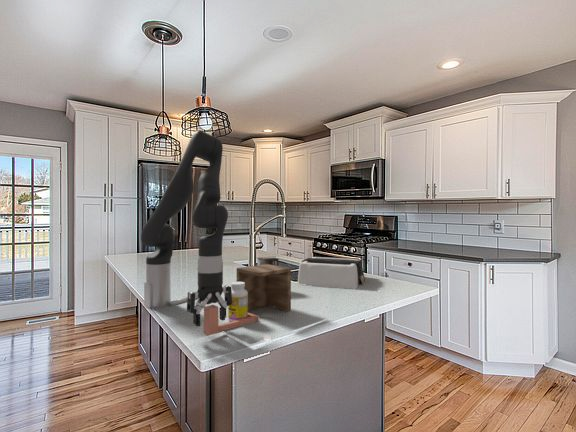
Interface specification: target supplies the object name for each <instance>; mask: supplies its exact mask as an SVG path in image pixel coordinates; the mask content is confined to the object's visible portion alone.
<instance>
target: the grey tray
mask: <svg viewBox="0 0 576 432" xmlns="http://www.w3.org/2000/svg"><path fill="white" fill-rule="evenodd" d="M365 280H366V279H365V273H364V269H363V264H362V262H361V258H344V257H343V258H341V257H324V256H323V257H321V256H312V257H306V258H305V259H303V260H301V262H299V267H298V275H297V283H298V284H306V285H305V286H309V285H315V286H314V287H322V286H323V287H324V288H325V287H326V288H339V289H352V290H356V289H357V288H358V287H359V284H360V282H361V285H364V282H365Z"/></svg>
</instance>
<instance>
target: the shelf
mask: <svg viewBox="0 0 576 432" xmlns="http://www.w3.org/2000/svg"><path fill="white" fill-rule="evenodd" d="M236 282H244V283H245V287H244V289H245V290H246V291H247V292H248V311H249V310H253V309H257V308H261V307H264V306H267V307H268V306H269V307H271V308H274V309H277V310H281V311H284V312H286V313H287V312H291V311H292V308H291V307H292V305H291V304H292V295H291V294H292V293H291V292H292V269H291V267H287V266H286V267H285V266H280V265H279V266H275V265H270V264H264V265H258V264H257V265H251V266H242V267H241V266H240V267H236Z"/></svg>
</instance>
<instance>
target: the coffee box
mask: <svg viewBox="0 0 576 432" xmlns="http://www.w3.org/2000/svg"><path fill="white" fill-rule="evenodd" d="M264 264H270V265H275V266H280V264H279V258H278V257H275V256H274V257H273V256H272V257H257V265H264Z"/></svg>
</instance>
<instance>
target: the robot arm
mask: <svg viewBox="0 0 576 432" xmlns="http://www.w3.org/2000/svg"><path fill="white" fill-rule="evenodd" d="M222 157H223V142H222V141H221V140H220V139H219V138H217V137H215V136H213V135H211V134H209V133H207V132H204V131H203V130H196V131H195V132H194V133H193V134H192V136H191V138H190V139H189V142H188V144H187V147H186V149H185V150H184V153H183V155H182V157H181V160H180V162H179V164H178V166H177V169H176V171H175V172H174V175H173V176H172V178H171V180H170V181H169V183H168V185H167V186H166V189H165V191H164V193H163V195H162V197H161V199H160V200H159V203H158V205H157V206H156V208H155V210H154V211H153V213H152V214H151V216H150V217H149V218H148V220H147V222H146V223H145V225H144V227H142V230H141V235H140V240H141V243H142V245H144V246H146V247H148V248H155V250H154V251H153V252H152V253H151V254H149V255H148V256H146V260H145V280H146V281H145V282H144V286H143V287H144V289H143V294H144V295H143V300H144V301H143V303H144V304H143V305H144V306H145V307H147V308H149V309H153V308H154V309H157V308H164V307H167V306H168V307H169V306H171V305H170V302H171V300H172V299H171V297H172V295H171V283H172V282H171V277H172V276H171V274H172V273H171V270H172V269H171V266H172V265H171V261H172V257H173V251H174V249H173V248H174V232H173V228H172V226H171V225H170V224H169V223H168V222H169V220H171V219H172V218H173V217H174V216H175V215H177V214H178V213H180V212H181V211H182V210H183V209H184V208H185V207H186V206H187V205H188V203H189V201H190V199H191V197H192V196H193V194H194V191H195V184H194V178H193V168H192V167H193V162H194V161H195V159H196V158H199V159H200V160H203V161H206V162H208V163H209V166H208V167H207V169H205V170H204V171H203V173H201V174H200V176H199V178H198V180H197V199H196V204H195V206H194V208H193V211H192V216H191V217H192V218H191V219H192V223H193V225H194V226H195V227H196V228H200V229H215V231H214V232H213V233H212V234H208V235H204V236H201V237H199V239H198V259H197V269H196V270H197V291H188V292H187V296H186V297H187V302H186V312H188V313H189V314H192V324H194V326H196V327H197V328H198V327H201V312H202V310H203V309H204V307H205V306H207V305H212V304H216V303H217V304H218V305H219V307H218V319H219V321H220V320H221V321H225V320H226V318H227V308H228V306H229V305H232V291H231V290H232V287H231V285H230V286H229V285H224V284H223V283H224V262H223V261H224V260H223V239H224V238H223V237H224V234H225V233H224V232H225V229H226V225H227V224H228V223H227V222H228V218H229V212H228V209H227V208H226V207H225V206H224V205H221V204H219V203H220V202H221V186H220V185H221V184H220V183H221V182H220V176H221V167H222ZM223 285H224V286H223ZM222 294H224V298H223V297H222ZM197 296H198V297H199V298H197V299H196V297H197ZM196 300H197V301H196Z"/></svg>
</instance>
